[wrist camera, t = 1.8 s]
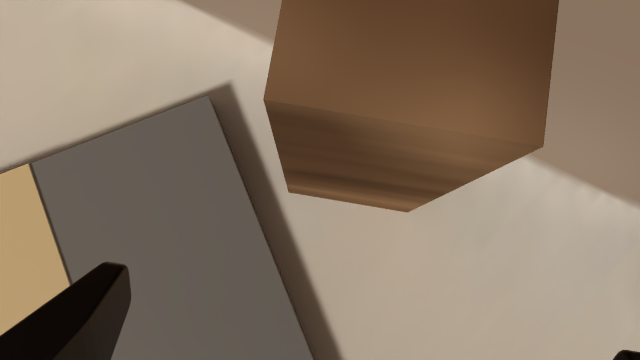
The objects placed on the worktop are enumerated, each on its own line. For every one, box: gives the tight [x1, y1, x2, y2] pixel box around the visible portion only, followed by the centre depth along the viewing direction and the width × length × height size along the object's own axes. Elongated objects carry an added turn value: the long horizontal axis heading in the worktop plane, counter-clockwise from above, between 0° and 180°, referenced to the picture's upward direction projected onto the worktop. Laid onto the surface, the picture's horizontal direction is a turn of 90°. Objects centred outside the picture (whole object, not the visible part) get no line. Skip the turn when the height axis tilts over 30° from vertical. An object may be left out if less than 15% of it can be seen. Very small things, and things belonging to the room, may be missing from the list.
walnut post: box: [264, 0, 559, 212], centre depth 16 cm, size 5×5×13 cm
